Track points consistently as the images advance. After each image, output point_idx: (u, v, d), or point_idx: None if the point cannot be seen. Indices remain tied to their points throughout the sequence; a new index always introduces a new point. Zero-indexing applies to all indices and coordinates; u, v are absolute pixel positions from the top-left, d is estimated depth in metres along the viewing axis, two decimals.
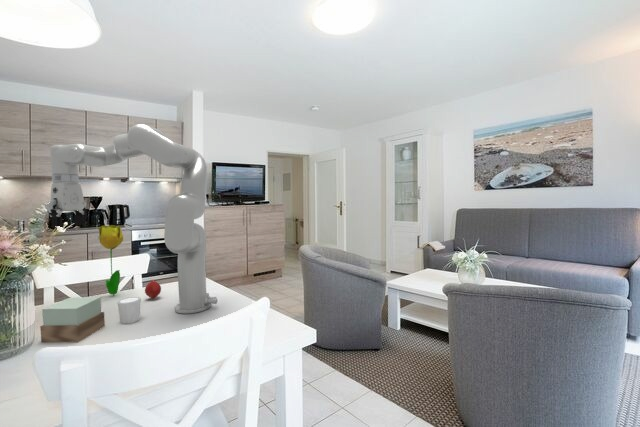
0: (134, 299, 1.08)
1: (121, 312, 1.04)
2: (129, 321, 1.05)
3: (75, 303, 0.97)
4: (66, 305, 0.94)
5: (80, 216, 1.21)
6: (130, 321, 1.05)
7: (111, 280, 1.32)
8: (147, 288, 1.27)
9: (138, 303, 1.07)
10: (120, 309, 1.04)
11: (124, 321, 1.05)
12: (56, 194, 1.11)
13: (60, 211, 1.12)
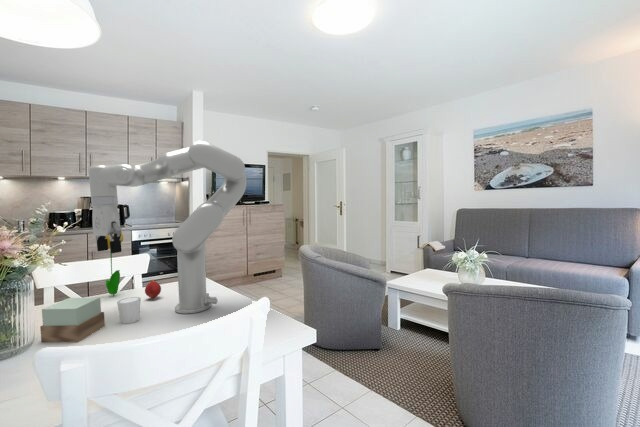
0: (134, 299, 1.08)
1: (121, 312, 1.04)
2: (129, 321, 1.05)
3: (74, 303, 0.97)
4: (65, 306, 0.94)
5: None
6: (130, 321, 1.05)
7: (111, 280, 1.32)
8: (147, 288, 1.27)
9: (138, 303, 1.07)
10: (120, 309, 1.04)
11: (124, 321, 1.05)
12: None
13: (97, 234, 1.11)
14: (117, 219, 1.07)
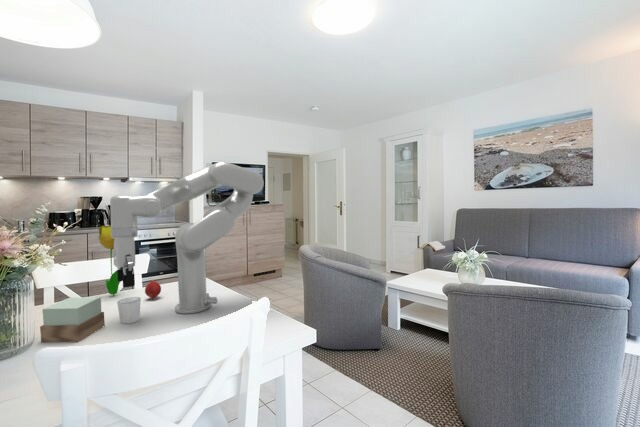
0: (134, 299, 1.08)
1: (121, 312, 1.04)
2: (129, 321, 1.05)
3: (75, 302, 0.97)
4: (66, 305, 0.94)
5: None
6: (130, 321, 1.05)
7: (111, 280, 1.32)
8: (147, 288, 1.27)
9: (138, 303, 1.07)
10: (120, 309, 1.04)
11: (124, 321, 1.05)
12: None
13: None
14: (132, 252, 1.03)
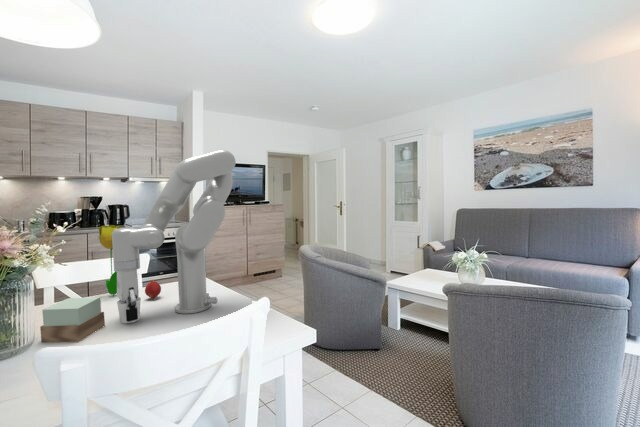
0: None
1: (121, 312, 1.04)
2: (129, 321, 1.05)
3: (75, 303, 0.97)
4: (66, 306, 0.94)
5: None
6: (130, 321, 1.05)
7: (111, 280, 1.32)
8: (147, 288, 1.27)
9: (138, 303, 1.07)
10: (120, 309, 1.04)
11: (124, 321, 1.05)
12: None
13: None
14: (135, 284, 1.04)
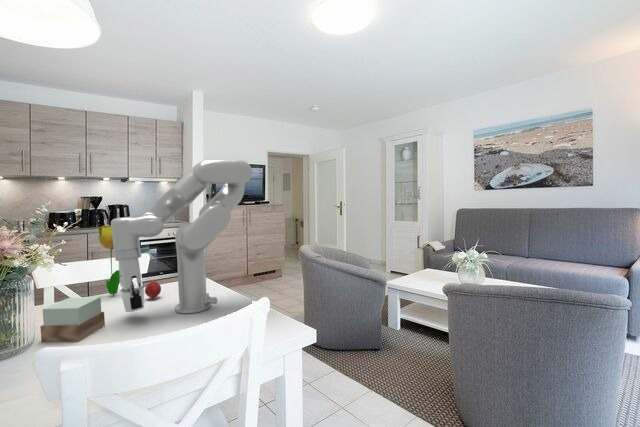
0: None
1: (125, 301, 1.05)
2: (134, 309, 1.05)
3: (75, 302, 0.97)
4: (66, 305, 0.94)
5: None
6: (135, 309, 1.06)
7: (111, 280, 1.32)
8: (147, 288, 1.27)
9: (142, 291, 1.07)
10: (124, 298, 1.05)
11: (129, 309, 1.05)
12: None
13: None
14: (137, 273, 1.04)
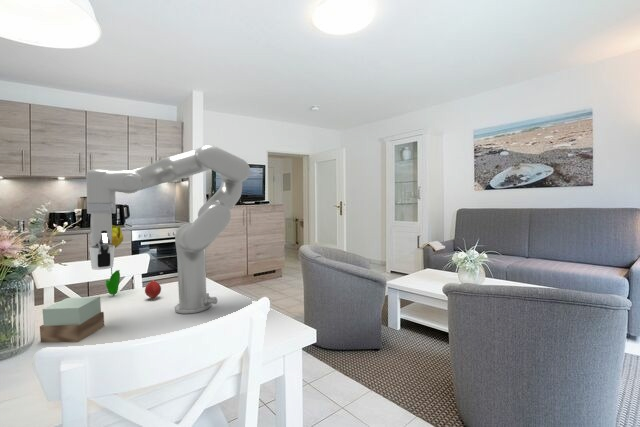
0: None
1: (92, 257, 0.99)
2: (101, 267, 0.99)
3: (75, 302, 0.97)
4: (66, 305, 0.94)
5: None
6: (102, 267, 0.99)
7: (111, 280, 1.32)
8: (147, 288, 1.27)
9: (111, 250, 1.01)
10: (92, 254, 0.99)
11: (95, 267, 0.99)
12: None
13: None
14: (109, 228, 0.98)
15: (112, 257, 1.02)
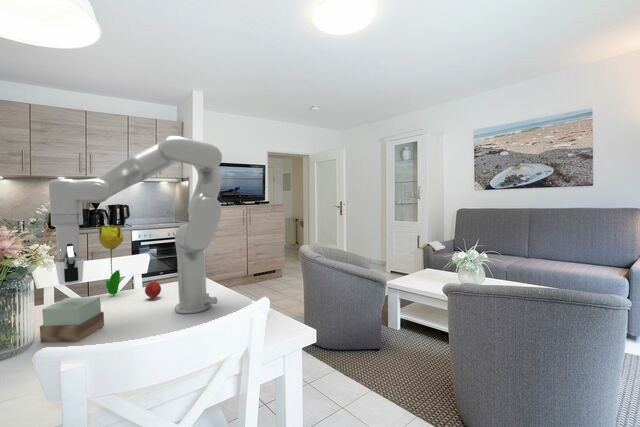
0: (76, 259, 0.97)
1: (59, 272, 0.93)
2: (68, 282, 0.94)
3: (75, 302, 0.97)
4: (66, 305, 0.94)
5: None
6: (69, 282, 0.94)
7: (111, 280, 1.32)
8: (147, 288, 1.27)
9: (79, 263, 0.96)
10: (58, 268, 0.93)
11: (62, 282, 0.94)
12: None
13: None
14: (75, 241, 0.93)
15: (81, 271, 0.97)
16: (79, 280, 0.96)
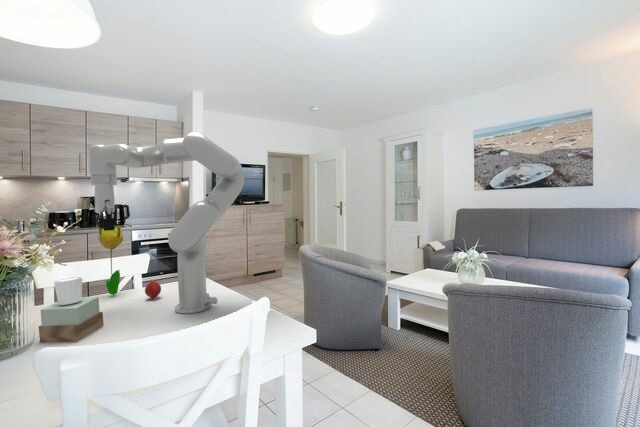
0: (74, 279, 0.97)
1: (57, 292, 0.94)
2: (65, 302, 0.94)
3: None
4: (65, 305, 0.94)
5: None
6: (66, 302, 0.94)
7: (111, 280, 1.32)
8: (147, 288, 1.27)
9: (76, 283, 0.96)
10: (56, 289, 0.94)
11: (60, 302, 0.94)
12: None
13: (99, 212, 1.15)
14: (111, 198, 1.09)
15: (78, 290, 0.96)
16: (77, 300, 0.96)
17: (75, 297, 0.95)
